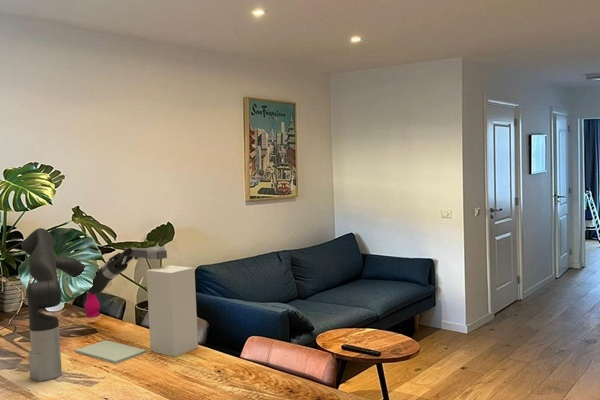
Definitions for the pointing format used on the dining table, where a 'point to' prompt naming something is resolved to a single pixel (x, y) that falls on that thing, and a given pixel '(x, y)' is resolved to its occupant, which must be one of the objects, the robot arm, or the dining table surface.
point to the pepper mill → (92, 305)
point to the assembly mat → (110, 351)
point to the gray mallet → (149, 252)
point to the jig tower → (172, 310)
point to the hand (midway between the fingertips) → (135, 248)
